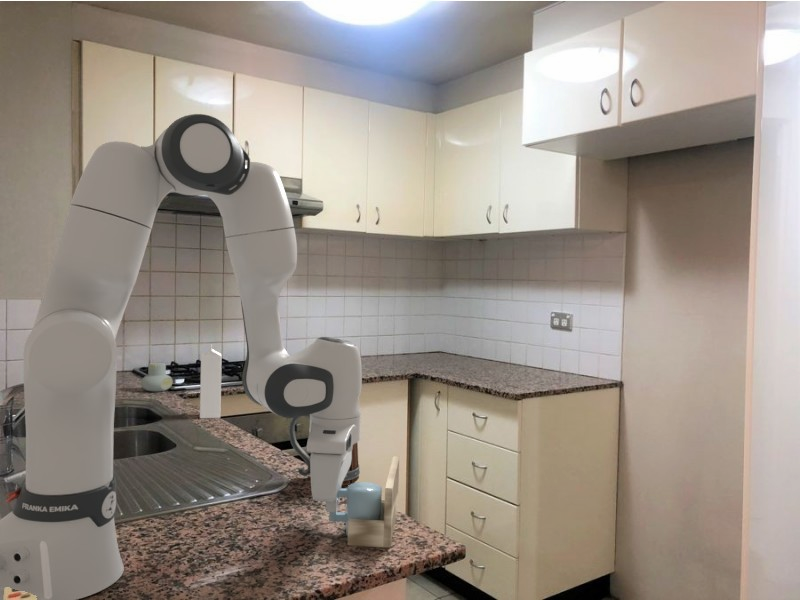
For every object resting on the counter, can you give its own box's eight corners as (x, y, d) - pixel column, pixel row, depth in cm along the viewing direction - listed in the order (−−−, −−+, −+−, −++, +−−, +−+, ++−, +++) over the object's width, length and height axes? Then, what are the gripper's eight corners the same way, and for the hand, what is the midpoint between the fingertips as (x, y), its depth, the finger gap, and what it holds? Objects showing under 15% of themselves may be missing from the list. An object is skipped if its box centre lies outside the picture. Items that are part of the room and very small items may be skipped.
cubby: (347, 545, 102) (349, 486, 102) (361, 504, 120) (362, 454, 120) (390, 547, 102) (392, 488, 101) (397, 506, 120) (399, 456, 119)
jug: (326, 538, 105) (327, 492, 104) (332, 523, 111) (333, 480, 110) (378, 541, 104) (380, 494, 104) (381, 526, 110) (383, 483, 110)
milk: (199, 418, 184) (200, 346, 183) (200, 414, 190) (201, 343, 189) (220, 418, 186) (221, 345, 185) (220, 413, 192) (221, 343, 191)
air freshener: (157, 394, 218) (157, 366, 217) (137, 392, 220) (137, 364, 219) (175, 388, 228) (175, 362, 228) (156, 387, 230) (156, 360, 230)
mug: (360, 472, 140) (362, 407, 139) (358, 488, 129) (360, 418, 129) (291, 470, 139) (293, 405, 139) (284, 486, 129) (286, 416, 128)
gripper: (327, 415, 117) (325, 486, 118) (304, 445, 97) (302, 530, 98) (360, 417, 117) (358, 488, 118) (344, 447, 97) (341, 533, 97)
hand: (332, 507), depth 107 cm, fingers closed on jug
